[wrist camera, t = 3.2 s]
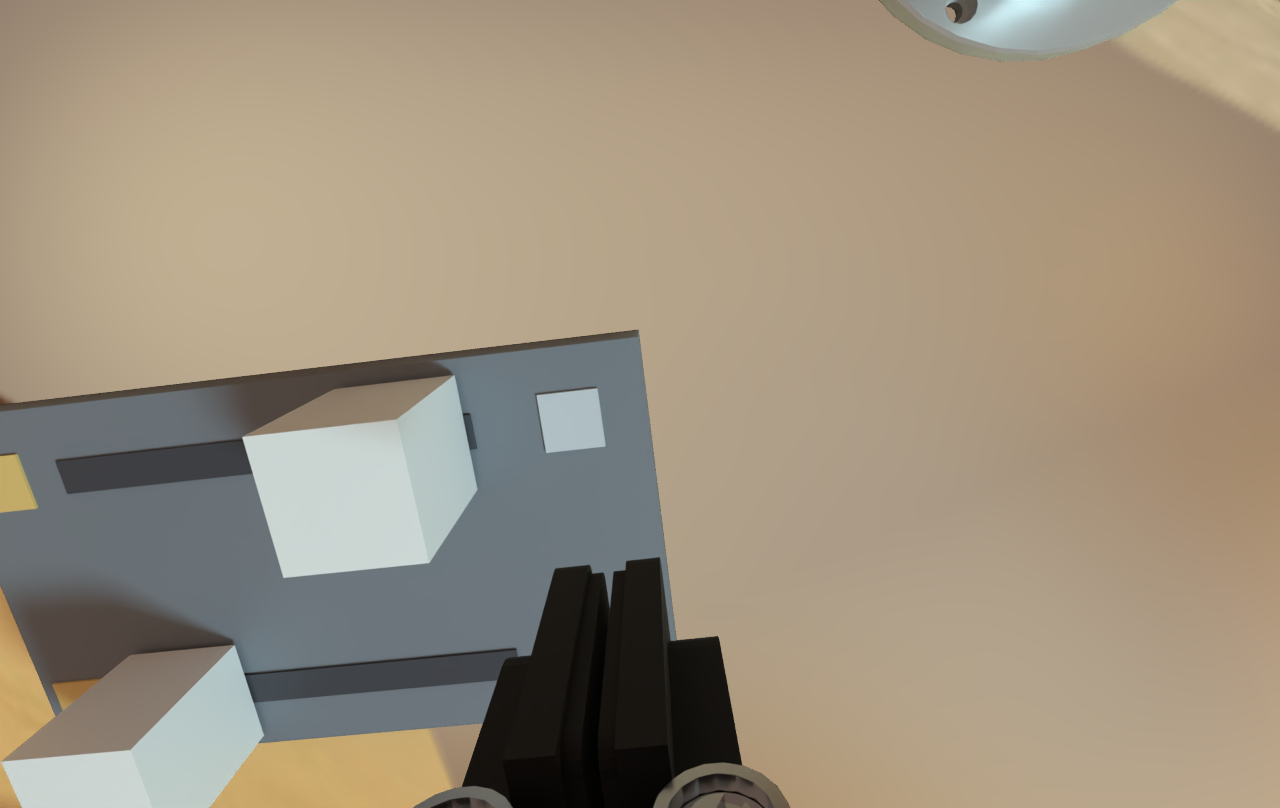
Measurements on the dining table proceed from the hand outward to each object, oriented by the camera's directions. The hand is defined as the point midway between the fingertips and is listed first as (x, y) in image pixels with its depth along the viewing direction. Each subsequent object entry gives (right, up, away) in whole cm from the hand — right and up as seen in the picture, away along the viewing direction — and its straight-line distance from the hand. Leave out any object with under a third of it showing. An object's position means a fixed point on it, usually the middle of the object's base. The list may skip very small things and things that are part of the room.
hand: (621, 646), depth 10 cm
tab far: (-16, -7, +14) cm, 23 cm away
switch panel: (-11, -2, +14) cm, 18 cm away
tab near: (-7, +3, +12) cm, 14 cm away
